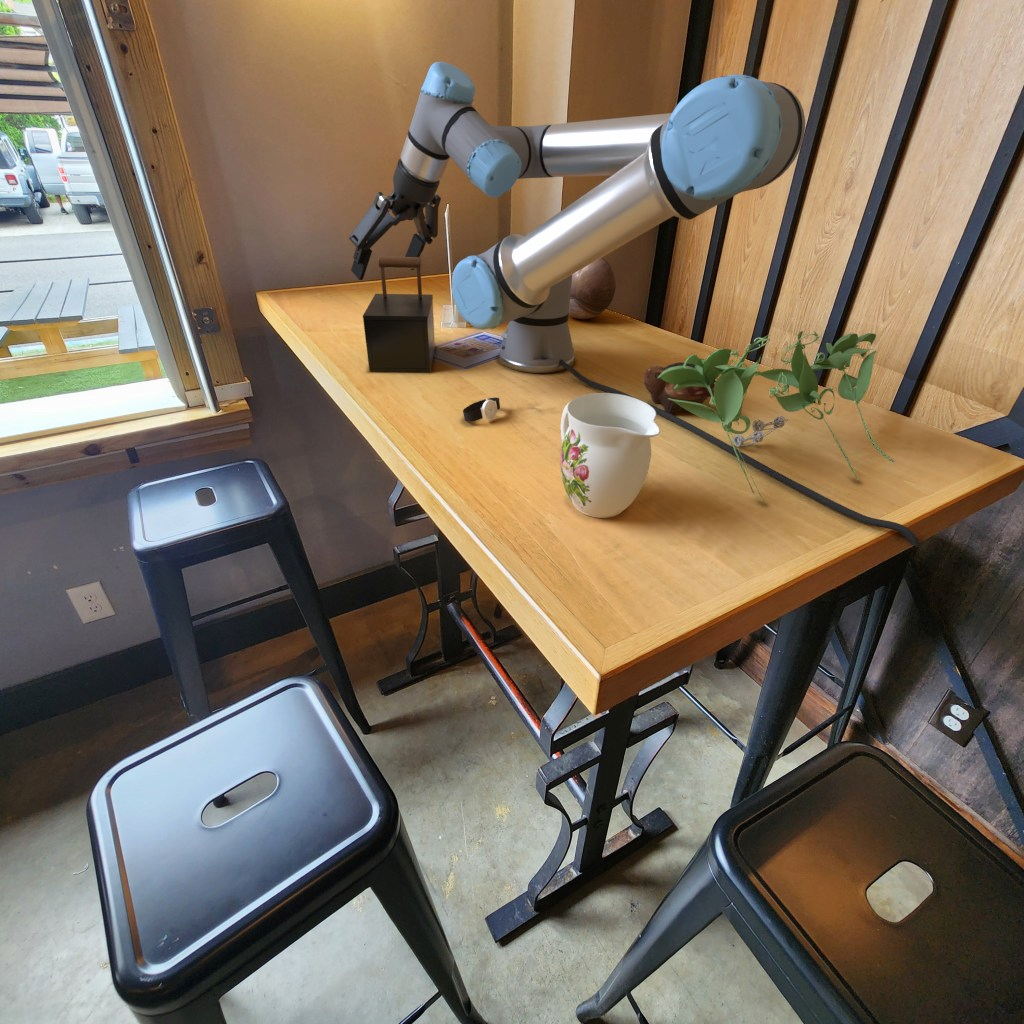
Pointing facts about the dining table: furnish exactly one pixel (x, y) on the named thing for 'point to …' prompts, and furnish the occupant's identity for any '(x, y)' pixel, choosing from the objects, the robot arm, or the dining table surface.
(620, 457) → the pitcher
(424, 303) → the bacon press
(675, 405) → the decorative turtle
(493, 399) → the watch
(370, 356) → the open box
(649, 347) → the dining table surface
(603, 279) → the wooden sphere
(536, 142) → the robot arm
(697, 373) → the plant cuttings
